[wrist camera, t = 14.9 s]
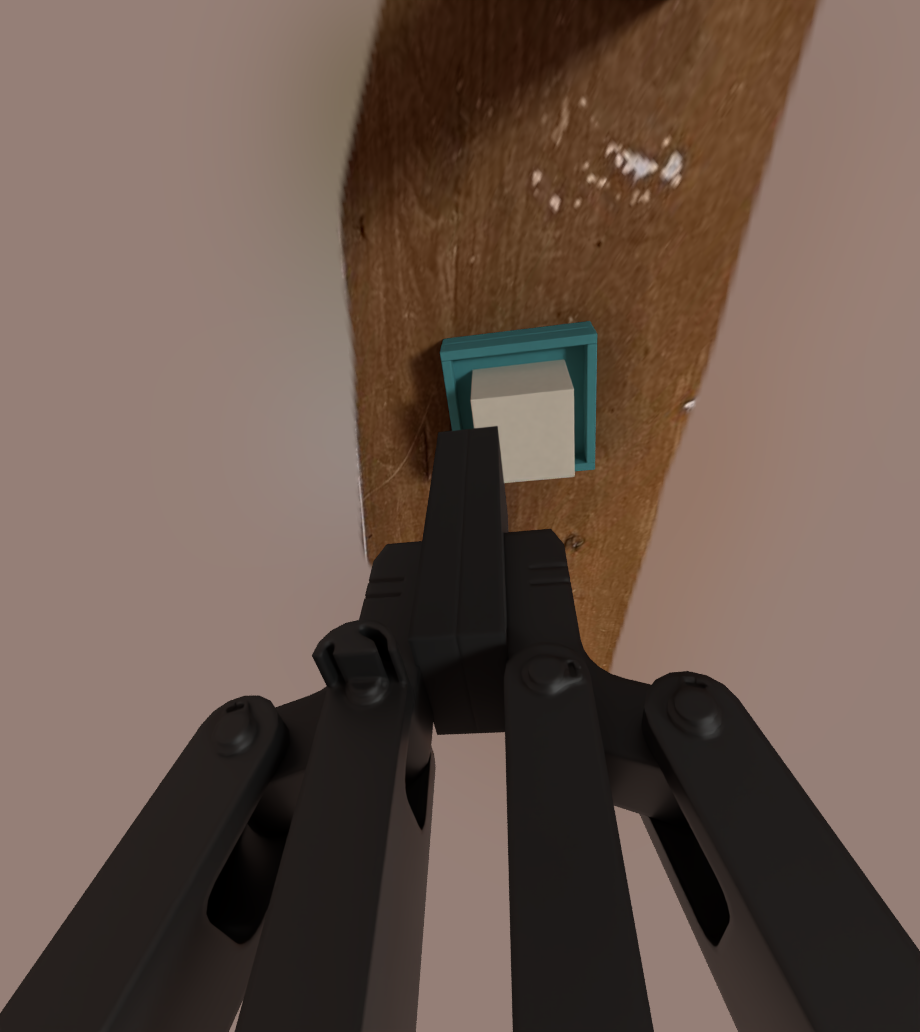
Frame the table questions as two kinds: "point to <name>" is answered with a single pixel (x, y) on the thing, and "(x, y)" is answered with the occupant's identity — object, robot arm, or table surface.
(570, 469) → the light gray cube
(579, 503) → the table surface
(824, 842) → the robot arm
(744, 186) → the table surface
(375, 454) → the table surface
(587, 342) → the shallow tray
